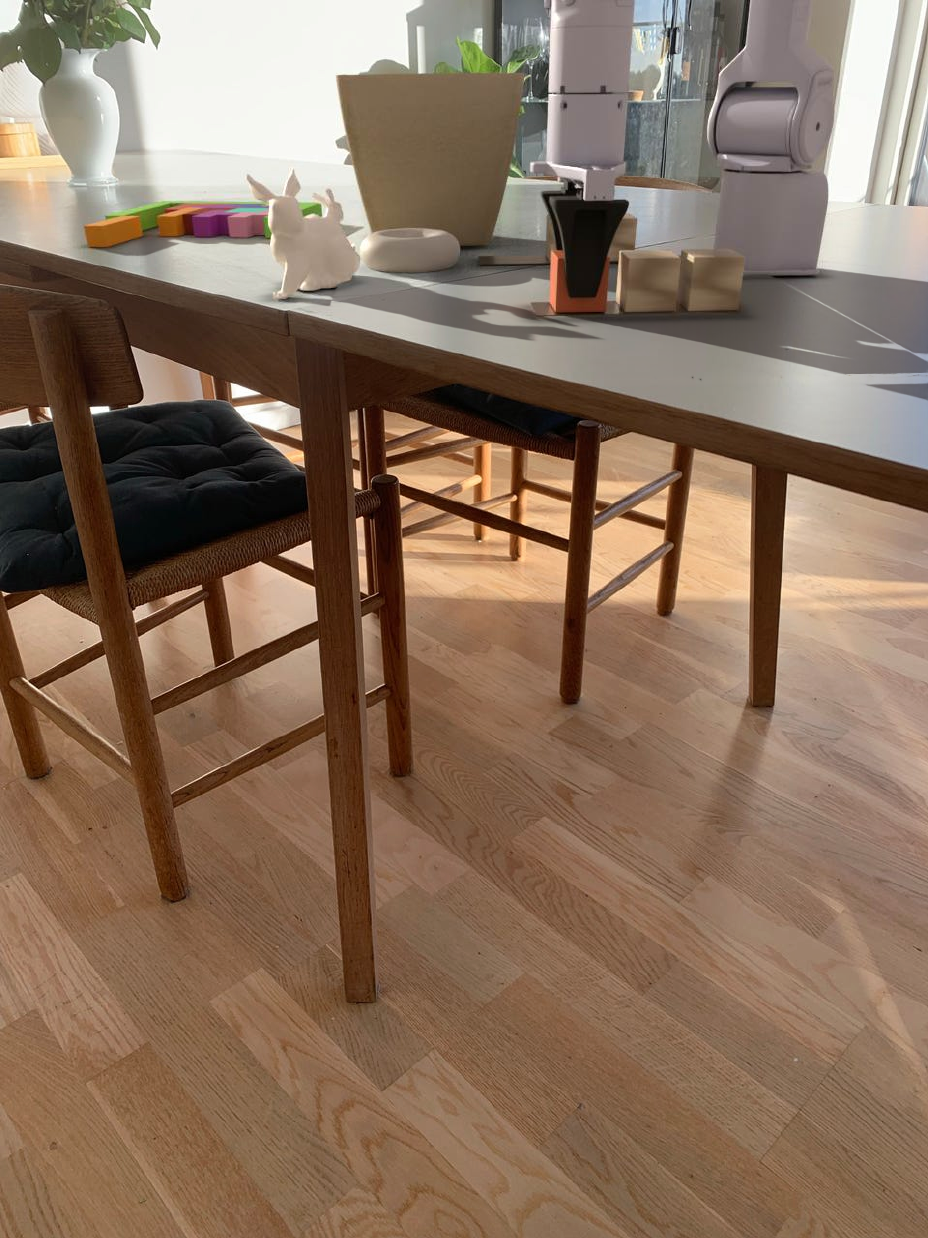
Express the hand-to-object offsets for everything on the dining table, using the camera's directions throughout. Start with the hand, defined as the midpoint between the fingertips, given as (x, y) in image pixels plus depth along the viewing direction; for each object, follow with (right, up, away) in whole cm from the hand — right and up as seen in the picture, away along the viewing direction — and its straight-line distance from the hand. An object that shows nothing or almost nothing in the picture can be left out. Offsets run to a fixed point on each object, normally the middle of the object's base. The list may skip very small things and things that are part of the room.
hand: (577, 290), depth 73 cm
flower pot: (-13, +18, +35) cm, 41 cm away
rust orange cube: (0, -1, +1) cm, 1 cm away
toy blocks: (-42, +22, +42) cm, 63 cm away
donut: (-14, +9, +19) cm, 25 cm away
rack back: (0, +10, +21) cm, 24 cm away
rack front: (+4, -1, +1) cm, 5 cm away
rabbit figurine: (-24, +5, +12) cm, 27 cm away
